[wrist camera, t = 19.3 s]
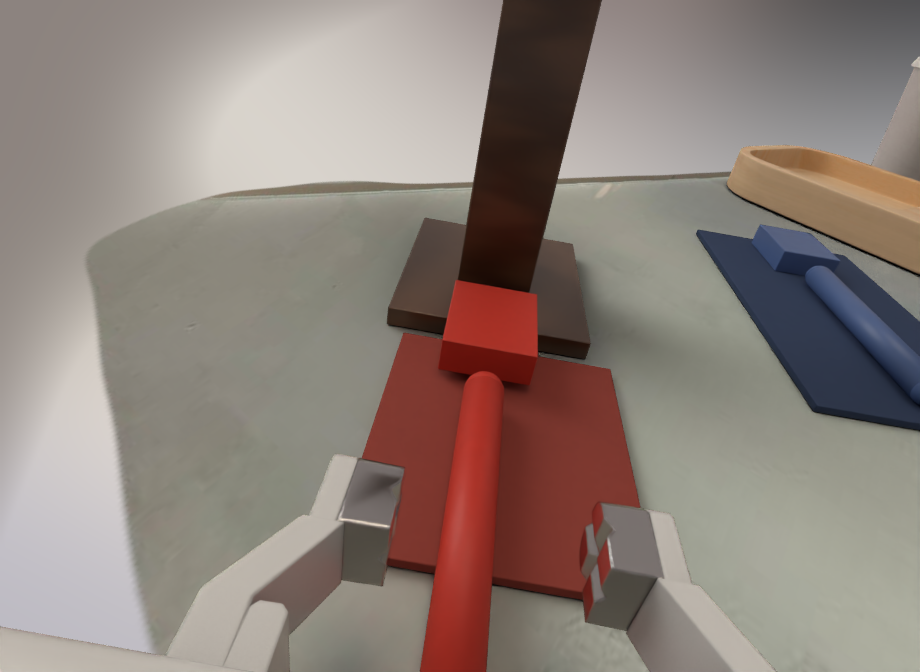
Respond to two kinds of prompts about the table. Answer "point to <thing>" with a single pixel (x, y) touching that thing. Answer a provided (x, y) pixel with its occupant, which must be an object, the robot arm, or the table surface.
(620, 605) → the robot arm
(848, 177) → the lamp
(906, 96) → the coffee cup
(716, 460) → the table surface
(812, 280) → the blue toy mallet
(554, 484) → the red mat
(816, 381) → the blue mat
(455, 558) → the red toy mallet
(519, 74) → the brown stand
